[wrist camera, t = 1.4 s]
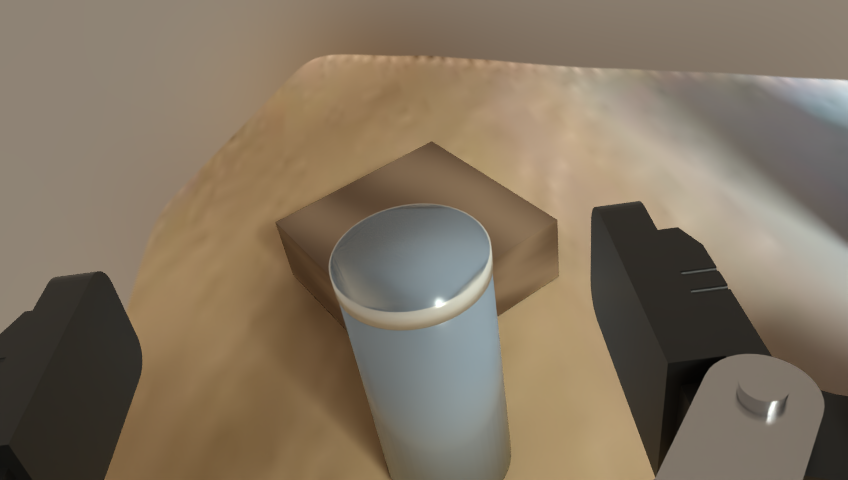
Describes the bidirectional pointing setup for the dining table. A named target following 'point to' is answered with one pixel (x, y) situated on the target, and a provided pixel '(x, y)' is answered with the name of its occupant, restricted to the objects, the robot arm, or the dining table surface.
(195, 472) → the dining table surface
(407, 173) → the block
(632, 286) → the robot arm
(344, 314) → the tumbler
